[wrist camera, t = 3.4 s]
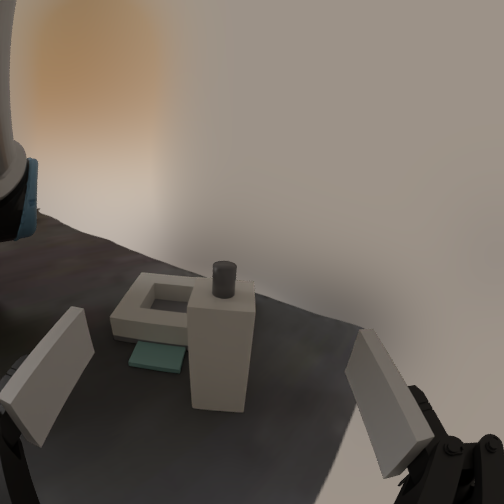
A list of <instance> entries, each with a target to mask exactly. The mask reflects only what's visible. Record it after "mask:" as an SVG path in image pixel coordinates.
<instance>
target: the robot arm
mask: <svg viewBox="0 0 504 504" xmlns="http://www.w3.org/2000/svg"><path fill="white" fill-rule="evenodd" d="M15 5H16V0H0V242H5V241H12V240H14V241H17V240H18V239H21V238H25V237H29V236H31V235H33V233H34V232H35V230H36V223H37V175H38V161H37V160H36V159H32V158H27V159H26V154H25V151H24V148H23V147H22V146H21V145H20V144H19V143H18V142H16V141H14V140H13V132H12V122H11V110H10V90H9V69H10V67H9V66H10V46H11V34H12V25H13V17H14V10H15ZM94 353H95V352H94V348H93V345H92V341H91V337H90V333H89V329H88V325H87V321H86V317H85V312H84V309H83V308H78V307H72V306H71V307H70V308H69V310H68V311H67V312H66V313H65V314H64V315H63V316H62V317H61V318H60V319H59V321H58V322H57V323H56V324H55V325H54V326H53V327H52V328H51V330H50V331H49V332H48V333H47V334H46V335H45V337H44V338H43V339H42V340H41V341H40V342H39V344H38V345H37V346H36V347H35V348H34V350H33V351H32V352H31V353H30V354H29V355H26V354H25V355H24V356H22V357H20V358H19V359H17V360H16V362H15V363H14V364H13V365H12V366H11V369H9V370H8V371H7V373H6V375H4V377H3V378H2V379H1V380H0V504H40V502H39V500H38V497H37V494H36V491H35V489H34V486H33V482H32V479H31V476H30V473H29V469H28V466H27V462H26V458H25V454H24V450H23V446H22V442H21V440H20V438H19V437H20V435H21V433H22V435H23V436H24V437H25V438H26V440H27V441H28V442H30V443H32V444H34V445H36V446H38V447H40V448H41V447H42V445H43V443H44V441H45V439H46V437H47V435H48V433H49V431H50V429H51V428H52V426H53V424H54V422H55V420H56V418H57V416H58V414H59V413H60V411H61V409H62V407H63V405H64V403H65V402H66V400H67V398H68V396H69V395H70V393H71V391H72V389H73V388H74V386H75V384H76V382H77V381H78V379H79V377H80V376H81V374H82V372H83V371H84V369H85V367H86V366H87V364H88V362H89V361H90V359H91V358H92V356H93V354H94ZM345 374H346V376H347V379H348V382H349V384H350V387H351V389H352V392H353V395H354V397H355V400H356V403H357V405H358V408H359V411H360V413H361V416H362V419H363V421H364V424H365V427H366V429H367V432H368V435H369V438H370V441H371V443H372V446H373V449H374V452H375V455H376V458H377V461H378V464H379V467H380V470H381V473H382V476H383V479H385V478H389V477H393V476H397V475H400V474H401V473H402V472H403V471H404V470H405V469H406V468H408V471H409V474H408V475H407V476H406V477H405V478H404V479H403V480H402V481H401V482H400V483H399V485H398V486H401V485H402V484H403V483H404V484H403V486H402V488H401V490H400V492H399V494H398V496H397V499H396V501H395V503H394V504H504V449H503V444H502V441H501V440H500V439H499V438H498V437H497V436H495V435H492V434H487V435H485V436H483V437H482V438H481V439H480V441H479V442H478V443H463V442H462V441H461V440H460V439H459V438H457V437H454V436H448V434H447V433H446V431H445V429H444V428H443V426H442V424H441V422H440V420H439V419H438V417H437V415H436V413H435V412H434V410H432V407H431V405H430V403H428V400H427V398H426V396H425V394H424V393H423V392H422V391H421V390H420V389H419V388H418V387H416V386H415V385H413V386H407V384H406V383H405V381H404V379H403V378H402V376H401V374H400V372H399V371H398V369H397V367H396V366H395V364H394V362H393V360H392V359H391V357H390V356H389V354H388V352H387V351H386V349H385V347H384V346H383V344H382V343H381V341H380V339H379V338H378V336H377V334H376V333H375V331H374V330H373V329H359V332H358V335H357V338H356V341H355V344H354V347H353V350H352V353H351V356H350V359H349V362H348V365H347V367H346V370H345Z"/></svg>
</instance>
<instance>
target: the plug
mask: <svg viewBox="0 0 504 504" xmlns="http://www.w3.org/2000/svg"><path fill="white" fill-rule="evenodd" d="M236 268H237V266H236V264H235V263H232V262H229V261H218V262H215V263H214V264H213V278H203V277H197V278H196V281H195V284H194V287H193V290H192V293H191V296H190V299H189V302H188V305H187V329H188V353H189V370H190V386H191V399H192V408H195V409H204V410H215V411H227V412H244V406H245V398H246V389H247V381H248V373H249V365H250V356H251V348H252V339H253V331H254V322H255V314H256V310H255V292H254V281H241V280H236Z"/></svg>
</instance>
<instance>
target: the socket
mask: <svg viewBox="0 0 504 504" xmlns="http://www.w3.org/2000/svg"><path fill="white" fill-rule="evenodd" d="M195 281H196V277H184V276H173V275H163V274H152V273H141V274H140V275H139V277H138V278H137V279H136V281H135V282H134V283H133V285H132V286H131V288H130V289H129V290H128V292H127V293H126V295H125V296H124V297H123V299H122V300H121V302H120V303H119V304H118V306H117V307H116V309H115V310H114V312H113V313H112V314H111V316H110V322H111V327H112V332H113V337H114V340H118V341H123V342H129V343H135V344H136V347H135V349H134V351H133V353H132V355H131V357H130V359H129V361H128V363H129V366H134V367H139V368H145V369H151V370H158V371H164V372H172V373H179V374H180V371H181V367H182V363H183V359H184V355H185V352H186V351H188V329H187V305H188V302H189V299H190V296H191V293H192V290H193V287H194V284H195Z"/></svg>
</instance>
